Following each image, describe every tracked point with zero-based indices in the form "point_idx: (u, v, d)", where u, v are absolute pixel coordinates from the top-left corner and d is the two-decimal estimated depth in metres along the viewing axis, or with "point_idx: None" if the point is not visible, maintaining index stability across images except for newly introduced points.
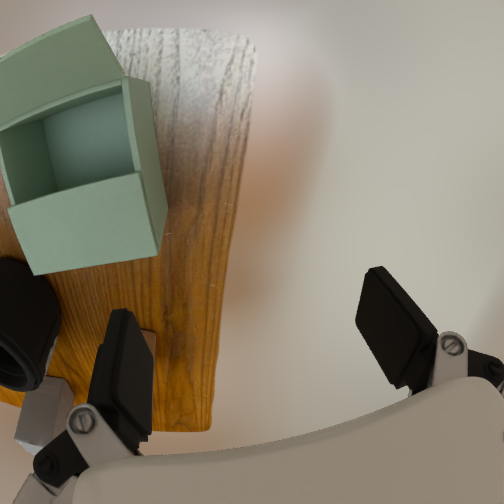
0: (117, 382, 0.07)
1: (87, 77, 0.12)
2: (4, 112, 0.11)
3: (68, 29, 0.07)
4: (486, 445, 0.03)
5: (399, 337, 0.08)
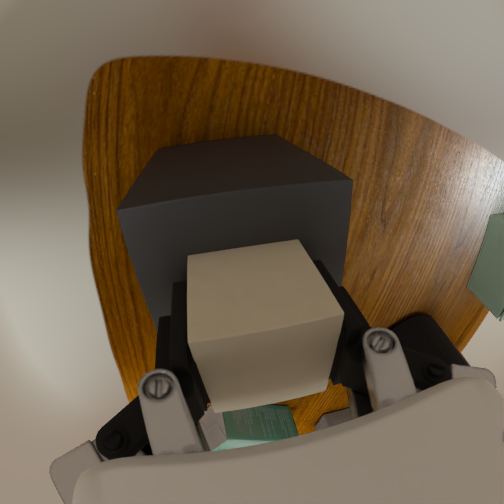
0: None
1: None
2: None
3: None
4: (486, 445, 0.03)
5: None
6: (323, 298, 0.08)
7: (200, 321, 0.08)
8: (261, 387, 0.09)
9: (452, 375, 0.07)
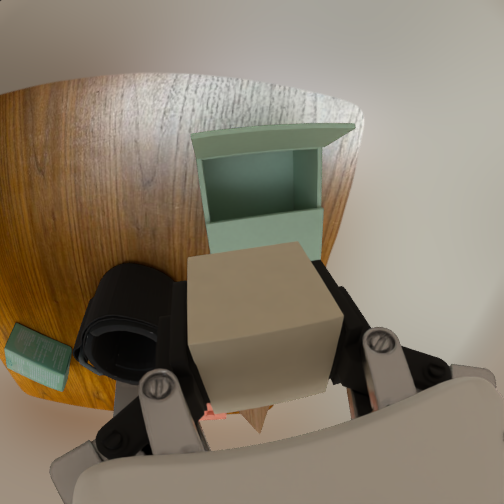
0: None
1: (309, 144, 0.23)
2: (233, 150, 0.23)
3: (341, 128, 0.19)
4: (486, 445, 0.03)
5: None
6: (323, 300, 0.08)
7: (201, 323, 0.08)
8: (261, 389, 0.09)
9: (452, 375, 0.07)
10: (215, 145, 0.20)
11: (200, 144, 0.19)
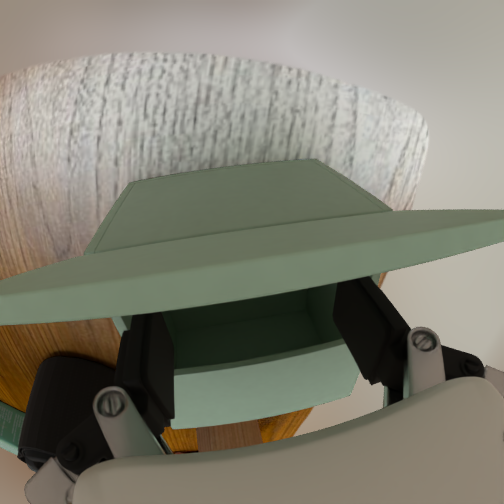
0: (147, 364, 0.07)
1: None
2: None
3: None
4: (486, 445, 0.03)
5: (370, 332, 0.09)
6: None
7: None
8: None
9: (485, 375, 0.06)
10: None
11: None
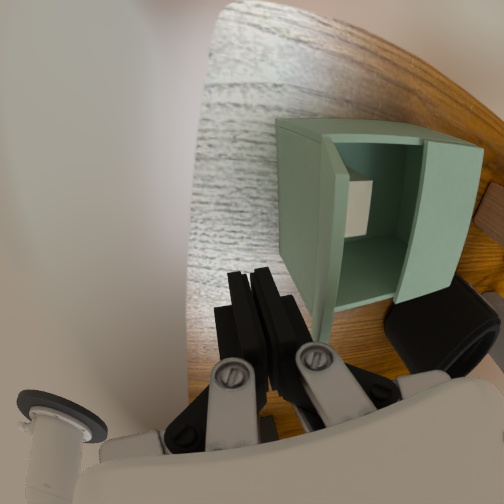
0: (262, 332, 0.08)
1: None
2: None
3: (346, 214, 0.07)
4: (486, 445, 0.03)
5: (266, 342, 0.09)
6: None
7: None
8: (352, 214, 0.20)
9: (400, 389, 0.07)
10: None
11: None
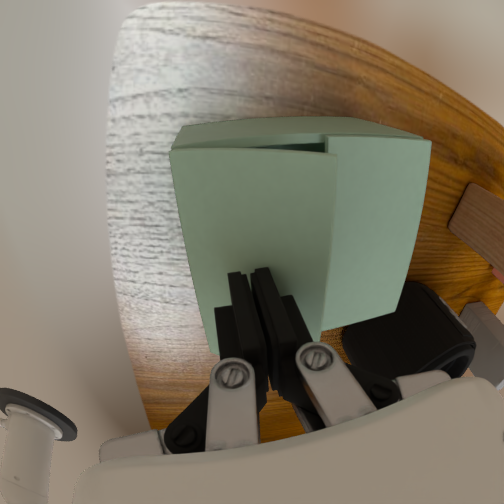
0: (261, 332, 0.08)
1: None
2: None
3: (332, 188, 0.09)
4: (486, 445, 0.03)
5: (266, 342, 0.09)
6: None
7: None
8: None
9: (400, 389, 0.07)
10: None
11: None
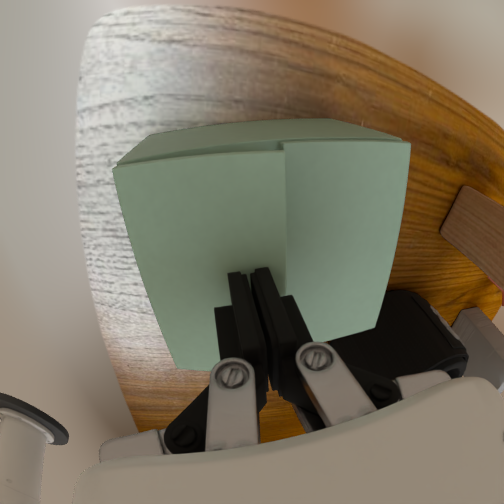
0: (261, 332, 0.08)
1: None
2: None
3: None
4: (486, 445, 0.03)
5: (266, 342, 0.09)
6: None
7: None
8: None
9: (400, 390, 0.07)
10: None
11: None
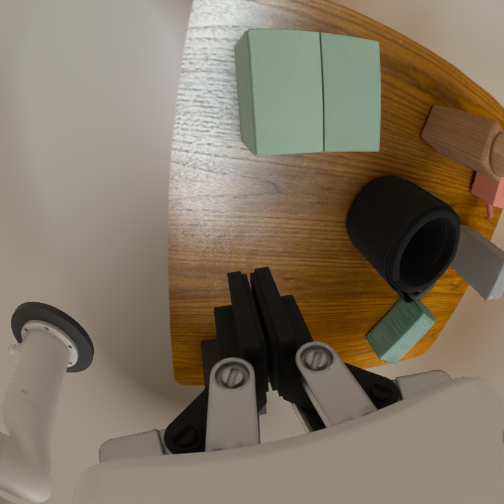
0: (261, 332, 0.08)
1: None
2: None
3: (317, 43, 0.20)
4: (486, 445, 0.03)
5: (266, 342, 0.09)
6: None
7: None
8: None
9: (401, 390, 0.07)
10: (294, 135, 0.24)
11: None
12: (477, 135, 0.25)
